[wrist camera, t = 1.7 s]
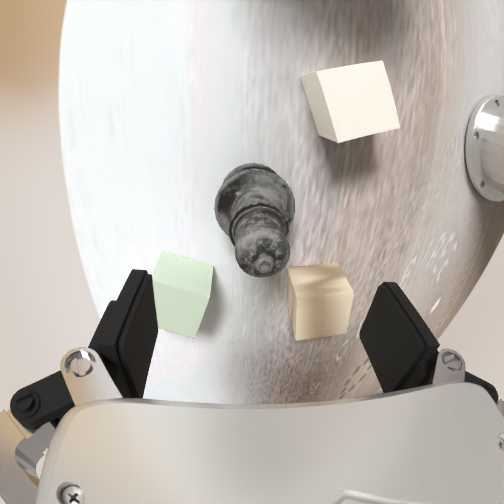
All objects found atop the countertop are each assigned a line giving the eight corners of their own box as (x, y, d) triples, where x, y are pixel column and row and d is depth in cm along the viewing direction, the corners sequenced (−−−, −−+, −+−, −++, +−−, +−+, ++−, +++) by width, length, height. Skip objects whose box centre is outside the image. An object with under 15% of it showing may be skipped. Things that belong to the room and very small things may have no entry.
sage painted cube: (213, 265, 27) (209, 297, 23) (199, 303, 29) (195, 338, 25) (163, 249, 26) (150, 279, 22) (153, 290, 28) (142, 323, 24)
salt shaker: (293, 217, 25) (331, 304, 15) (227, 232, 26) (223, 328, 15) (279, 152, 22) (319, 199, 12) (208, 169, 23) (184, 232, 12)
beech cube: (337, 262, 28) (353, 292, 23) (332, 301, 30) (346, 333, 26) (287, 267, 28) (296, 299, 23) (287, 307, 30) (295, 340, 26)
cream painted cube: (355, 66, 19) (382, 60, 14) (370, 121, 21) (400, 127, 17) (299, 78, 19) (316, 71, 15) (317, 134, 22) (338, 143, 17)
